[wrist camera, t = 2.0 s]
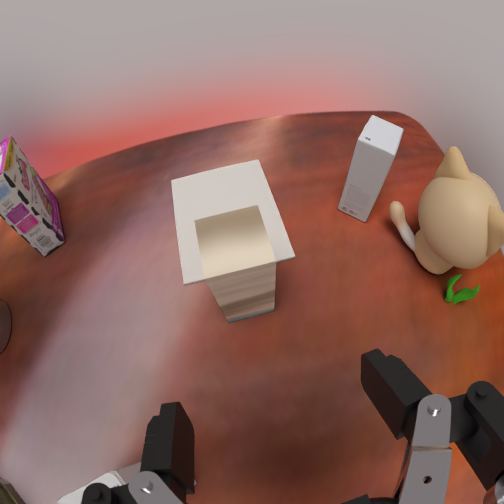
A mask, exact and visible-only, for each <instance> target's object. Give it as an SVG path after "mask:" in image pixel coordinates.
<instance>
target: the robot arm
mask: <svg viewBox="0 0 504 504" xmlns="http://www.w3.org/2000/svg"><path fill="white" fill-rule="evenodd" d="M10 332H11V314H10V310H9V308H8V306H7V304H6V303H4V302H3V301H1V300H0V353H1V352H2V351H3V350H4V348H5V347H6V345H7V343H8V340H9V336H10ZM361 383H362V386H363V389H364V391H365V392H366V394H367V395H368V397H369V398H370V400H371V401H372V403H373V404H374V406H375V407H376V409H377V410H378V412H379V413H380V415H381V416H382V418H383V419H384V421H385V422H386V424H387V425H388V427H389V428H390V430H391V432H392V433H393V435H394V436H395V438H396V439H397V440H398V439H400V438H402V437H404V436H405V437H406V439H407V440H408V442H407V446H406V450H405V455H404V459H403V463H402V467H401V471H400V475H399V478H398V481H397V484H396V487H395V490H394V492H393V495H392V498H388V497H379V498H371V499H369V497H368V495H367V494H365V495H363V496H361V497H358V498H355V499H353V500H350V501H347V502H345V503H342V504H444V501H445V496H446V491H447V485H448V479H449V473H450V465H451V457H452V449H451V448H449V443H452V442H455V444H456V445H457V447H458V448H459V449H460V451H461V452H462V454H463V455H464V457H465V458H466V460H467V461H468V463H469V464H470V466H471V467H472V469H473V470H474V472H475V474H476V475H477V477H478V478H479V480H480V481H481V483H482V485H483V486H484V488H485V489H486V491H487V492H486V494H485V496H484V500H483V504H504V397H503V395H502V394H501V393H500V392H499V391H498V390H497V389H496V388H495V387H494V386H493V385H492V384H490V383H489V382H486V381H478V382H475V383H473V384H472V385H471V386H470V387H469V388H468V391H467V393H466V394H463V395H459V396H456V397H452V398H446V397H445V396H443V395H439V394H432V393H431V392H430V391H429V390H428V389H427V387H426V386H425V385H424V384H423V383H422V382H421V381H420V380H419V379H418V377H417V376H416V375H415V374H414V373H412V371H411V370H410V369H409V368H407V366H406V364H405V363H404V362H403V361H402V360H401V359H399V358H397V357H395V356H393V355H389V356H387V357H386V356H385V355H384V354H383V353H382V352H381V351H380V350H379V349H375V350H372V351H370V352H367V353H364V354H362V356H361ZM186 494H194V429H193V425H192V423H191V421H190V419H189V418H188V416H187V414H186V412H185V410H184V409H183V407H182V405H181V403H180V402H172V403H164V404H162V405H161V409H160V415H159V416H153V418H152V419H151V421H150V422H149V424H148V426H147V431H146V437H145V444H144V449H143V455H142V461H141V467H140V472H139V473H137V474H135V475H134V476H133V477H132V478H131V479H130V481H129V483H128V484H125V485H121V486H117V487H113V488H109V487H108V486H107V485H105V484H103V483H92V484H90V485H89V486H87V487H86V488H85V490H84V492H83V496H82V502H81V504H187V503H186Z"/></svg>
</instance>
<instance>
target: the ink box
mask: <svg viewBox="0 0 504 504" xmlns="http://www.w3.org/2000/svg"><path fill="white" fill-rule="evenodd" d="M140 467H141V462H139V463H136V464H133V465H130V466H127V467H123V468H120V469H116V470H112V471H110V472H108V473H105V474H103V475H102V476H100V477H98V478H97V479H95V480H93V481H91V482H90V483H89V484H87V485H85V486H83V487H81V488H79V489H77V490H76V491H74V492H72V493H69V494H67V495H66V496H64V497H62V498H60V499H59V500H58V504H81V502H82V496H83V492H84V490H85V488H86V487H87V486H89V485H90V484H92V483H103V484H105V485H107V486H108V487H109V488H113V487H117V486H121V485H125V484H128V483H129V481H130V479H131V478H132V477H133V476H134V475H135V474H137V473H139V472H140ZM196 484H197V483H196V481H195V480H194V486H195V485H196Z"/></svg>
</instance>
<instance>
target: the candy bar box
mask: <svg viewBox="0 0 504 504" xmlns="http://www.w3.org/2000/svg"><path fill="white" fill-rule="evenodd" d="M0 216H1V217H2V218H3V219H4V220H5V221H6V222H7V223H8V224H9V225H10V226H11V227H13V229H14V230H15V231H16V232H17V233H18V234H19V235H21V236H22V237H23V238H24V239H25V240H26V241H27V242H28V243H29V244H30V245H31V246H32V247H34V248H35V249H36V250H37V251H38V252H39V253H40V254H42V255H43V256H44V257H45V256H47V255H48V254H49V253H51V252H52V251H53V250H55V249H56V248H58V247H59V246H61V245H62V244H63V243H64V242H65V239H64V234H63V229H62V224H61V219H60V213H59V207H58V200H57V198H56V197H55V196H54V194H53V193H52V192H51V191H50V189H49V188H48V187H47V185H46V184H45V183H44V182H43V180H42V179H41V178H40V176H39V175H38V173H37V172H36V171H35V170H34V168H33V167H32V166H31V164H30V162H29V161H28V160H27V158H26V157H25V155H24V154H23V152H22V151H21V149H20V148H19V147H18V145H17V144H16V142H15V140H14V139H13V137H12V136H11V135H10V136H9V137H8V138H6V139H5V140H4V141H3V142H1V143H0Z"/></svg>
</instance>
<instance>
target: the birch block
mask: <svg viewBox="0 0 504 504" xmlns="http://www.w3.org/2000/svg"><path fill="white" fill-rule="evenodd" d="M194 221H195V227H196V233H197V239H198V245H199V250H200V256H201V262H202V267H203V272H204V278H205V280H206V282H207V284H208V286H209V288H210V290H211V292H212V293H213V295H214V297H215V299H216V301H217V303H218V304H219V306H220V308H221V310H222V312H223V313H224V315H225V317H226V319H227V321H228V322H233V321H238V320H242V319H246V318H250V317H254V316H258V315H261V314H265V313H269V312H273V311H274V304H275V279H276V259H275V256H274V253H273V250H272V247H271V244H270V241H269V238H268V235H267V232H266V229H265V226H264V222H263V219H262V216H261V213H260V210H259V207H258V205H255V206H251V207H247V208H242V209H238V210H234V211H230V212H226V213H222V214H218V215H214V216H210V217H206V218H202V219H198V220H194Z"/></svg>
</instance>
